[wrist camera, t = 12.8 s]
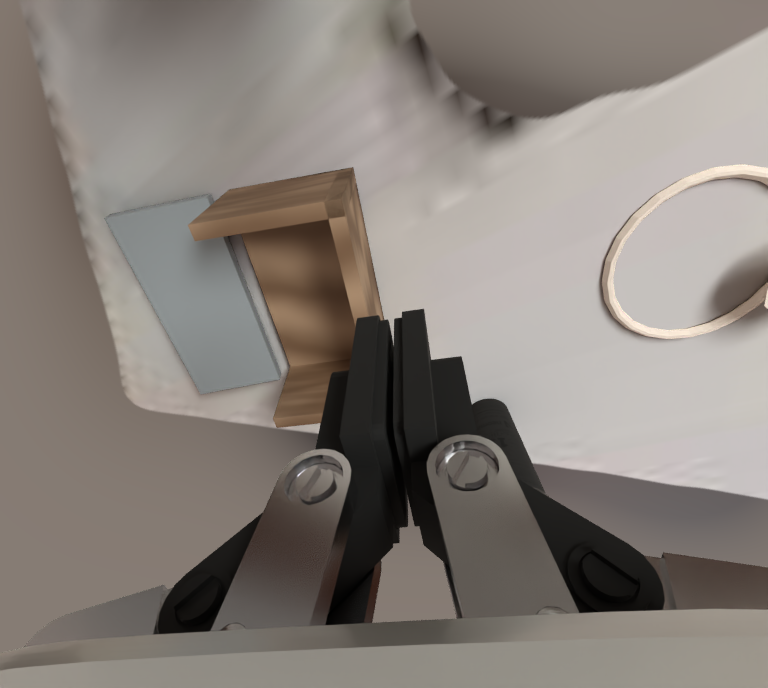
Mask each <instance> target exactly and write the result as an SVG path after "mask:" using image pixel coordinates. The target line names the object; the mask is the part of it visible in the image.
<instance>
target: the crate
mask: <svg viewBox="0 0 768 688" xmlns="http://www.w3.org/2000/svg"><path fill="white" fill-rule="evenodd" d="M188 227H189V229H190V232H191V234H192V236H193V238H194V241H200V240H206V239H212V238H218V237H224V236H230V235H236V234H241V236H242V238H243V241H244V244H245V246H246V249H247V252H248V254H249V257H250V260H251V262H252V265H253V268H254V270H255V273H256V276H257V278H258V281H259V284H260V286H261V289H262V292H263V295H264V297H265V300H266V303H267V305H268V308H269V311H270V313H271V316H272V319H273V321H274V324H275V327H276V329H277V332H278V335H279V337H280V340H281V343H282V345H283V348H284V351H285V353H286V356H287V359H288V361H289V364H290V369H289V372H288V375H287V378H286V381H285V384H284V387H283V390H282V393H281V396H280V399H279V402H278V405H277V408H276V411H275V414H274V417H273V420H274V422H275V424H276V427H277V428H279V427H288V426H297V425H306V424H315V423H321V420H322V415H323V410H324V405H325V400H326V395H327V391H328V386H329V381H330V377H331V374H332V373H333V372H338V371H346V370H349V368H350V361H351V355H352V348H353V341H354V335H355V328H356V321H357V318H361V317H369V316H376V315H379V316H380V319H381V320H384V317H383V312H382V307H381V302H380V297H379V292H378V287H377V282H376V277H375V272H374V268H373V263H372V258H371V253H370V248H369V243H368V238H367V233H366V228H365V223H364V218H363V214H362V209H361V204H360V199H359V194H358V189H357V184H356V179H355V174H354V169H353V167H352V168H347V169H341V170H336V171H330V172H324V173H319V174H313V175H308V176H302V177H297V178H291V179H286V180H280V181H274V182H269V183H263V184H258V185H252V186H247V187H241V188H236V189H230V190H228V191H227V192H226V193H225V194H224V195H222V196H221V197H220V198H219V199H218V200H217V201H215V202H214V203H213V204H212V205H211V206H209V207H208V208H207V209H206V210H205V211H204V212H202V213H201V214H200V215H199V216H198V217H197V218H195V219H194V220H193V221H192V222H191V223H190V224H188Z"/></svg>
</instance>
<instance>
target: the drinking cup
mask: <svg viewBox="0 0 768 688" xmlns="http://www.w3.org/2000/svg"><path fill="white" fill-rule="evenodd" d="M472 409H473V414H474V419H475V424H476V429H477V433H478V436H481V437H484V438H486V439H489V440H491V441H492V442H494V443H495V444H496V445H497V446H499V447H500V448H501V450H502V451H503V453H504V454H505V455H506V457H507V459H508V462H509V464H510V466H511V468H512V470H513V472H514V474H515V477H516V478H517V479H519V480H521V481H522V482H524V483H526V484H527V485H529V486H531V487H533V488H534V489H536V490H538V491H539V492H541V493H543V494H544V495H546V496H548V495H547V494H546V493H545V491H544V489H543V487H542V485H541V482H540V480H539V478H538V476H537V473H536V471H535V470H534V467H533V464H532V462H531V460H530V458H529V455H528V453H527V451H526V449H525V447H524V444H523V442H522V440H521V438H520V435H519V433H518V431H517V429H516V427H515V424H514V422H513V420H512V418H511V415H510V413H509V411H508V409H507V407H506V405H505V404H504V403H503V402H501V401H499V400H496V399H483V400H480V401H478V402H476V403H474V404H473V405H472ZM548 497H549V496H548ZM549 498H550V497H549Z"/></svg>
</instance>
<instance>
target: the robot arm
mask: <svg viewBox="0 0 768 688" xmlns="http://www.w3.org/2000/svg"><path fill="white" fill-rule="evenodd" d="M407 494H408V499H409V503H410V507H411V512H412V516H413V520H414V525H415V526H420V530H421V535H422V539H423V544H424V546H426V547H427V548H428V549H429V550H430V551H431V552H433V553H434V554H435V555H436V556H437V557H439V558H440V559H441V560H442V561H443V563H444V568H445V572H446V576H447V581H448V585H449V589H450V593H451V597H452V601H453V605H454V610H455V614H456V618H457V619H442V620H421V621H401V622H382V623H372V621H373V616H374V610H375V604H376V599H377V593H378V588H379V582H380V576H381V564H382V562H381V559H382V558H383V557H384V556H385V555H386V554H387V553H388V552H389V551H390V550H391V549H392V548H393V543H399V528H400V527H407V526H408V504H407V503H408V501H407V500H408V499H407ZM0 688H768V567H762V566H755V565H747V564H741V563H734V562H727V561H720V560H713V559H706V558H699V557H692V556H686V555H679V554H672V553H664V552H663V554H662V557H661V558H658V557H651V556H644V555H643V554H641V553H640V552H639V551H637V550H636V549H634V548H633V547H632V546H630V545H629V544H627V543H626V542H624V541H622V540H620V539H619V538H617V537H615V536H614V535H612V534H610V533H609V532H607V531H605V530H603V529H602V528H600V527H599V526H597V525H595V524H593V523H592V522H590V521H589V520H587V519H585V518H583V517H582V516H580V515H578V514H577V513H575V512H573V511H571V510H570V509H568V508H566V507H565V506H563V505H561V504H560V503H558V502H556V501H555V500H553V499H551V498H549V497H548V496H546V495H544V494H543V493H541V492H539V491H538V490H536V489H534V488H533V487H531V486H529V485H527V484H526V483H524V482H522V481H521V480H519V479H517V478H516V477H515V474H514V472H513V470H512V468H511V466H510V464H509V462H508V459H507V457H506V455H505V454H504V453H503V451H502V450H501V448H500V447H499V446H497V445H496V444H495V443H494V442H492V441H491V440H489V439H486V438H484V437H481V436H478V433H477V429H476V424H475V419H474V414H473V409H472V404H471V399H470V395H469V390H468V385H467V380H466V375H465V370H464V365H463V361H462V357H461V356H460V357H452V358H444V359H436V360H431V356H430V349H429V342H428V335H427V328H426V321H425V314H424V309H420V310H412V311H405V312H402V318H396V319H394V345H393V340H392V335H391V330H390V325H389V321H388V320H381V319H380V316H379V315H376V316H369V317H361V318H357V321H356V328H355V335H354V341H353V348H352V355H351V361H350V368H349V370H346V371H338V372H333V373H332V374H331V377H330V381H329V386H328V391H327V395H326V400H325V405H324V410H323V415H322V420H321V425H320V430H319V435H318V440H317V445H316V449H315V450H312V451H309V452H307V453H303V454H302V455H300V456H298V457H297V458H295V459H293V460H292V461H291V462H290V463H289V464H288V465H287V466H286V467H285V468H284V469H283V471H282V473H281V474H280V476H279V478H278V480H277V482H276V485H275V487H274V489H273V491H272V493H271V496H270V498H269V500H268V502H267V505H266V507H265V509H264V511H263V513H262V514H261V515H259V516H258V517H257V518H255V519H254V520H253V521H252V522H251V523H249V524H248V525H247V526H246V527H244V528H243V529H242V530H240V532H238V533H237V534H236V535H234V536H233V537H232V538H230V539H229V540H228V541H227V542H225V543H224V544H223V545H222V546H221V547H219V548H218V549H217V550H216V551H214V552H213V553H212V554H211V555H209V556H208V557H207V558H206V559H204V560H203V561H202V562H201V563H199V564H198V565H197V566H196V567H194V568H193V569H192V570H191V571H189V572H188V573H187V574H186V575H185V576H184V577H183V578H182V579H181V580H180V581H179V582H178V583H176V584H175V586H174V587H173V588H171V589H167V588H166V587H165V586H164V585H161V586H158V587H155V588H151V589H148V590H145V591H142V592H139V593H135V594H132V595H129V596H126V597H122V598H119V599H116V600H112V601H109V602H106V603H102V604H99V605H96V606H92V607H89V608H86V609H83V610H79V611H76V612H73V613H70V614H66V615H64V616H62V617H60V618H57V619H55V620H53V621H51V622H50V623H48V624H47V625H46V626H45V627H43V628H42V629H41V630H39V631H38V632H37V633H36V634H35V635H34V636H33V637H32V638H31V639H30V641H29V642H28V643H27V644H26V645H25V646H24V647H23V648H20V649H16V650H11V651H7V652H2V653H0Z"/></svg>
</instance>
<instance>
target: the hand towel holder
mask: <svg viewBox="0 0 768 688" xmlns="http://www.w3.org/2000/svg"><path fill="white" fill-rule="evenodd" d="M735 177H738V178H744V179H751V180H757V181H760V182H762V183H764V184H766V185H768V168H763V167H757V166H751V165H745V164H740V165H731V166H722V167H714V168H711V169H708V170H705V171H702V172H699V173H697V174H694V175H691V176H688V177H685V178H683V179H681V180H680V181H678V182H676V183H675V184H673V185H671V186H669V187H668V188H666V189H664V190H663V191H661V192H659V193H658V194H656V195H655V196H654V197H652V198H651V199H650V200H649V201H648V202H647V203H646V204H645V205H643V206H642V207H641V208H640V209H639V210H638V211H637V212H636V213H634V214H633V215H632V217H631V218H630V219H629V221H628V222H627V223H626V225H625V226H624V227H623V229H622V230H621V231H620V232H619V234H618V235H617V236H616V238H615V241H614V243H613V245H612V247H611V249H610V251H609V254H608V256H607V258H606V260H605V266H604V272H603V277H602V287H603V294H604V301H605V303H606V305H607V307H608V308H609V310H610V312H611V314H612V316H613V317H614V318H615V319H616V320H617V321H619V322H620V323H621V324H622V325H623V326H624V327H625V328H627V329H629V330H631V331H634V332H636V333H638V334H641V335H643V336H649V337H657V338H664V339H674V338H687V337H693V336H697V335H700V334H704V333H708V332H711V331H715V330H717V329H719V328H721V327H723V326H725V325H728V324H730V323H732V322H734V321H736V320H738V319H739V318H741V317H742V316H744V315H745V314H747V313H748V312H750V311H751V310H753V309H754V308H756V307H757V306H759V305H760V304H761V303H762V302H763V301H764V300H765V299H766V300H765V305H764V306H765V307H766V308H767V309H768V281H767V282H766V283H765V284H764V285H763V286H762V287H761V288H760V289H759V290H758V291H757V292H756V293H755V294H754V295H753V296H752V297H751V298H750V299H748V300H747V301H745V302H744V303H743V304H741V305H740V306H738V307H737V308H735V309H734V310H732V311H731V312H729V313H727V314H725V315H723V316H721V317H719V318H717V319H715V320H712V321H710V322H708V323H705V324H701V325H698V326H694V327H691V328H687V329H677V330H663V329H655V328H649V327H647V326H645V325H642V324H640V323H638V322H635V321H634V320H632V319H631V318H630V317H629V316H628V315H627V314H626V313H625V312H624V311H622V309H621V307H620V305H619V303H618V301H617V299H616V297H615V291H614V283H613V277H614V272H615V266H616V261H617V258H618V256H619V254H620V252H621V250H622V248H623V246H624V244H625V242H626V240H627V239H628V237H629V236H630V235H631V233H632V232H633V231H634V230H635V228H636V227H637V226H638V224H639V223H640V222H641V221H642V220H643V219H644V218H645V217H646V216H647V215H649V214H650V213H651V212H652V211H653V210H654V209H655V208H657V207H658V206H659V205H660V204H661V203H663V202H664V201H666V200H668V199H670V198H671V197H673V196H675V195H676V194H678V193H680V192H682V191H683V190H685V189H687V188H690V187H693V186H696V185H699V184H702V183H705V182H707V181H710V180H717V179H726V178H735Z"/></svg>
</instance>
